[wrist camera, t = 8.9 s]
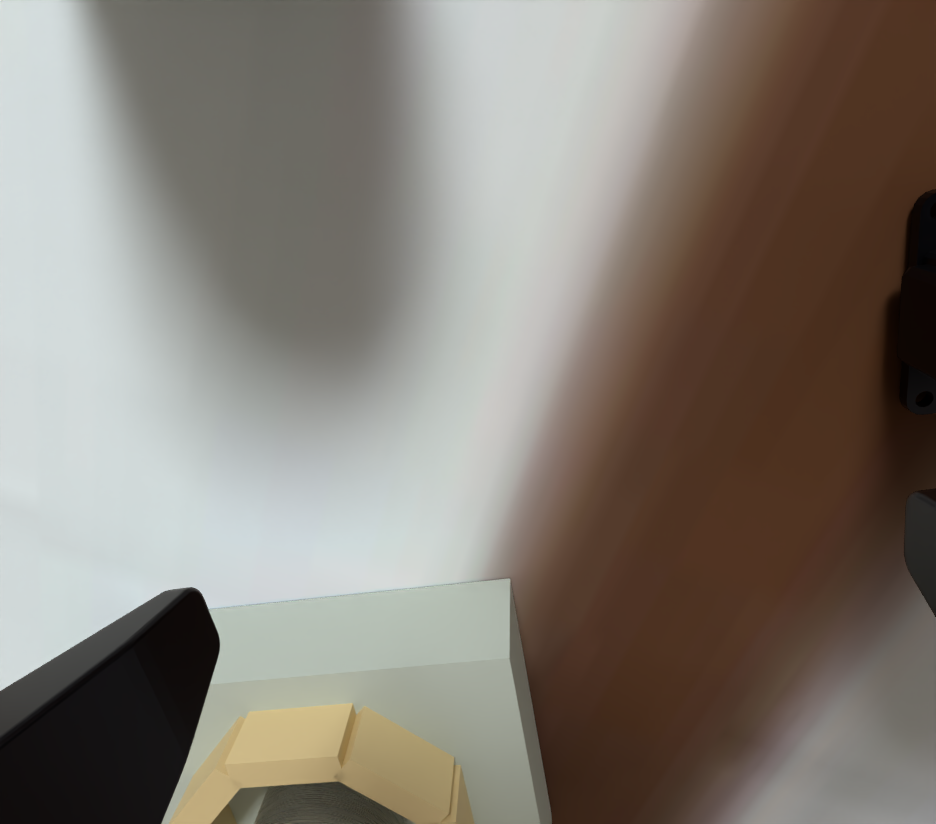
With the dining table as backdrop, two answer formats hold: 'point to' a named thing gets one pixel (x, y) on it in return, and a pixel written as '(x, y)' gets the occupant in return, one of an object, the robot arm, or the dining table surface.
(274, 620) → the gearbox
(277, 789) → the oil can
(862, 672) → the dining table surface
